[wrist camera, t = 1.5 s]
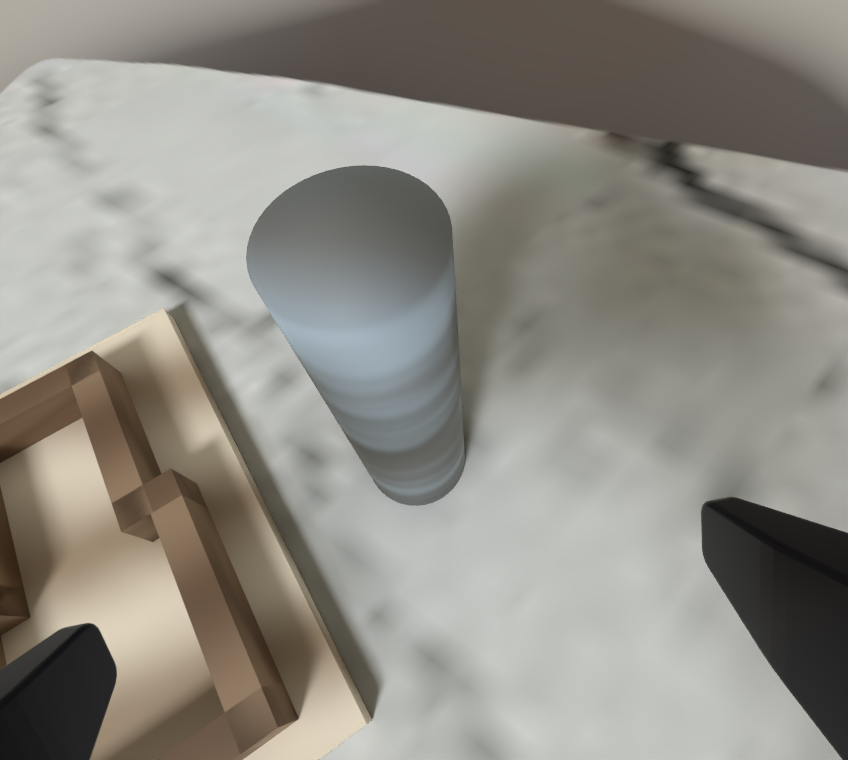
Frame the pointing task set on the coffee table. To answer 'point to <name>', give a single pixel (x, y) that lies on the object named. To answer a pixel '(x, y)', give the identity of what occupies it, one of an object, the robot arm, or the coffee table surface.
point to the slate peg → (371, 317)
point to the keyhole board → (161, 560)
